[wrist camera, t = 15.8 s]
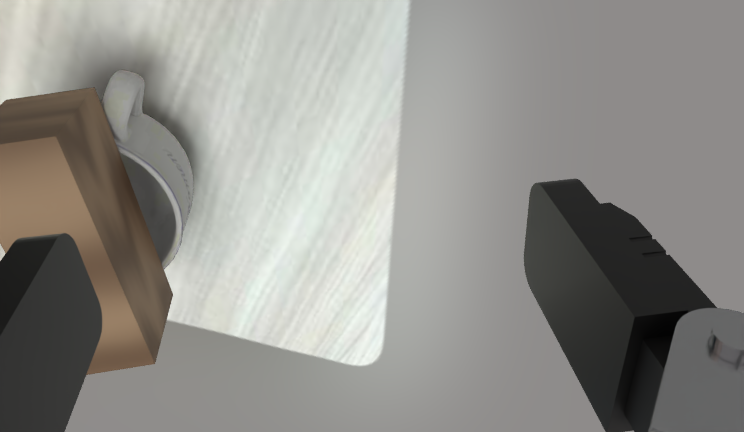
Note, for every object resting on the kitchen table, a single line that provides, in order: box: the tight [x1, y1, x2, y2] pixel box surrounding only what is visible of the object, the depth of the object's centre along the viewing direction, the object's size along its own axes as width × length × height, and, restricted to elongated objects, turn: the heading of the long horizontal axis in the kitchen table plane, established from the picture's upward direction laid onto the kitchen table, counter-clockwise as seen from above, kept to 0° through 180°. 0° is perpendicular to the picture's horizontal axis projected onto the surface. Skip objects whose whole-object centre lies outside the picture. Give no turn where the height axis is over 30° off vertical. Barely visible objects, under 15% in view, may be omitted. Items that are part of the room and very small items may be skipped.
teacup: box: [101, 70, 194, 270], centre depth 38 cm, size 14×11×8 cm
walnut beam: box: [0, 87, 173, 375], centre depth 32 cm, size 14×4×6 cm, turn 7°
